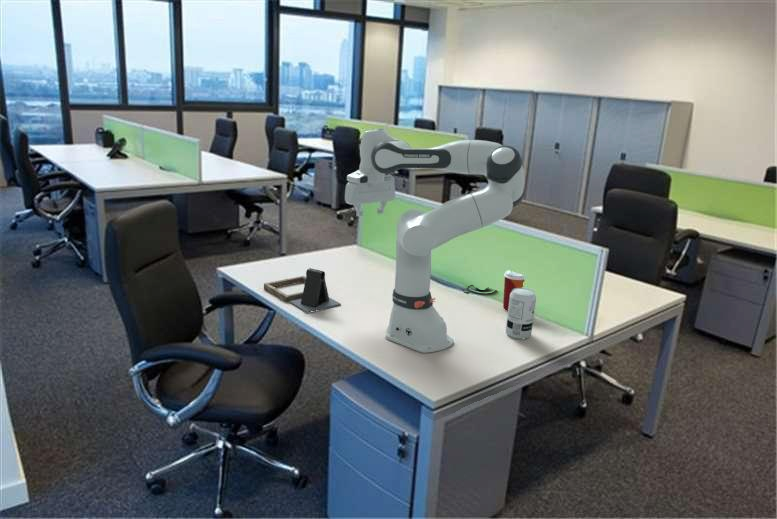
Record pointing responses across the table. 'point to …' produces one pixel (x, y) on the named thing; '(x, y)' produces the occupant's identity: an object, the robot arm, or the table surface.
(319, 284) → the phone stand
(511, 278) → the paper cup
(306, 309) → the charcoal mat
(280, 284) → the walnut frame
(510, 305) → the supplement can
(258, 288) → the table surface
